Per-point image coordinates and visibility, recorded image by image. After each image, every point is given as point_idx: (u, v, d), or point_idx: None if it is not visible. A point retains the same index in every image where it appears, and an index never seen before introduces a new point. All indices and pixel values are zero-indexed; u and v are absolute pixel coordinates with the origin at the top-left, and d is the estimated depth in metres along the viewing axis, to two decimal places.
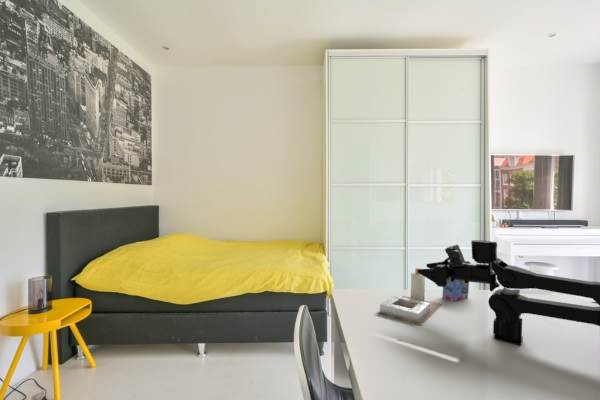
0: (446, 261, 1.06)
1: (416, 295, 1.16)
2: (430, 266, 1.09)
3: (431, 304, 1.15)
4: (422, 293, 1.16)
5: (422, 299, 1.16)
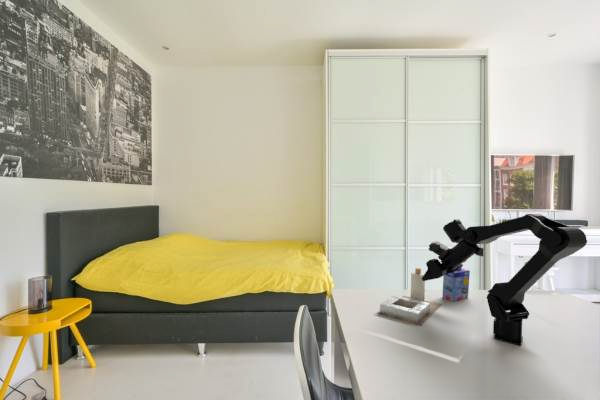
0: None
1: (416, 295, 1.16)
2: None
3: (431, 304, 1.15)
4: (422, 293, 1.16)
5: (422, 299, 1.16)
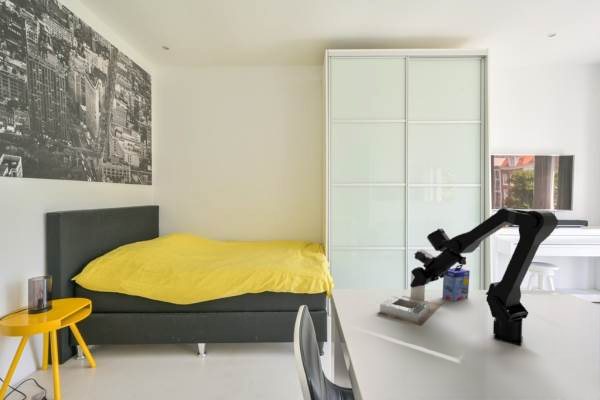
0: None
1: (416, 295, 1.16)
2: None
3: (431, 304, 1.15)
4: (422, 293, 1.16)
5: (422, 299, 1.16)
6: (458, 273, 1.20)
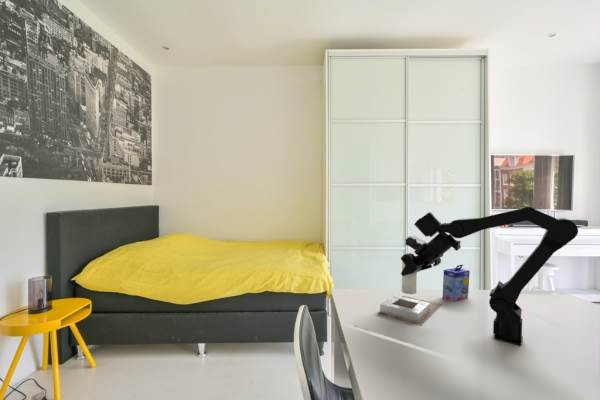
0: None
1: (407, 284, 1.08)
2: None
3: (431, 304, 1.15)
4: (414, 282, 1.08)
5: (414, 288, 1.08)
6: (458, 273, 1.20)
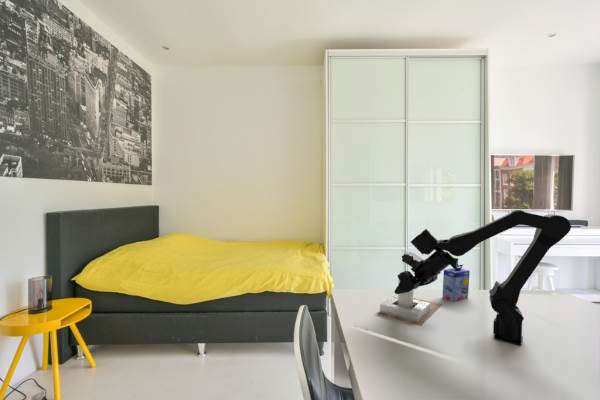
0: None
1: (403, 305, 1.06)
2: None
3: (431, 304, 1.15)
4: (410, 302, 1.05)
5: None
6: (458, 273, 1.20)
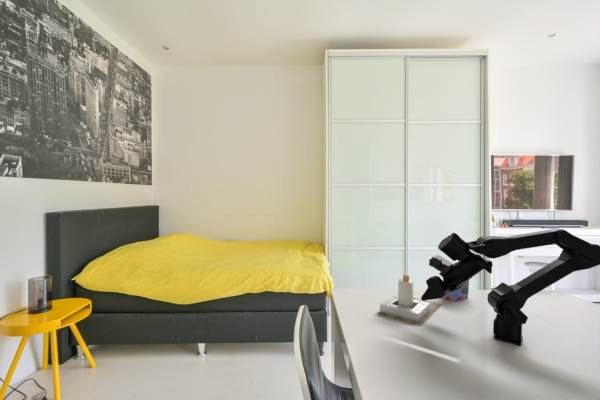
0: None
1: (403, 305, 1.06)
2: None
3: (431, 304, 1.15)
4: (410, 302, 1.05)
5: None
6: None
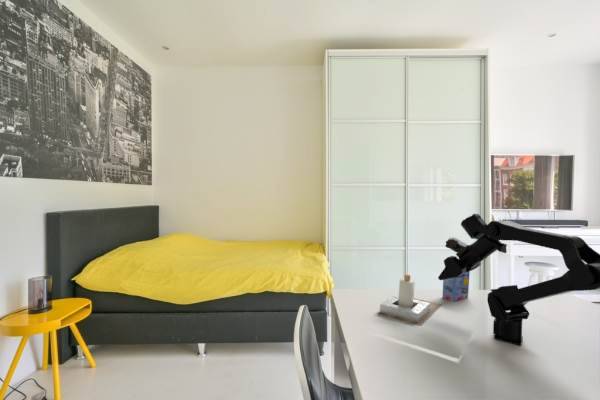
0: None
1: (404, 305, 1.06)
2: None
3: (431, 304, 1.15)
4: (411, 302, 1.06)
5: (411, 308, 1.06)
6: None
